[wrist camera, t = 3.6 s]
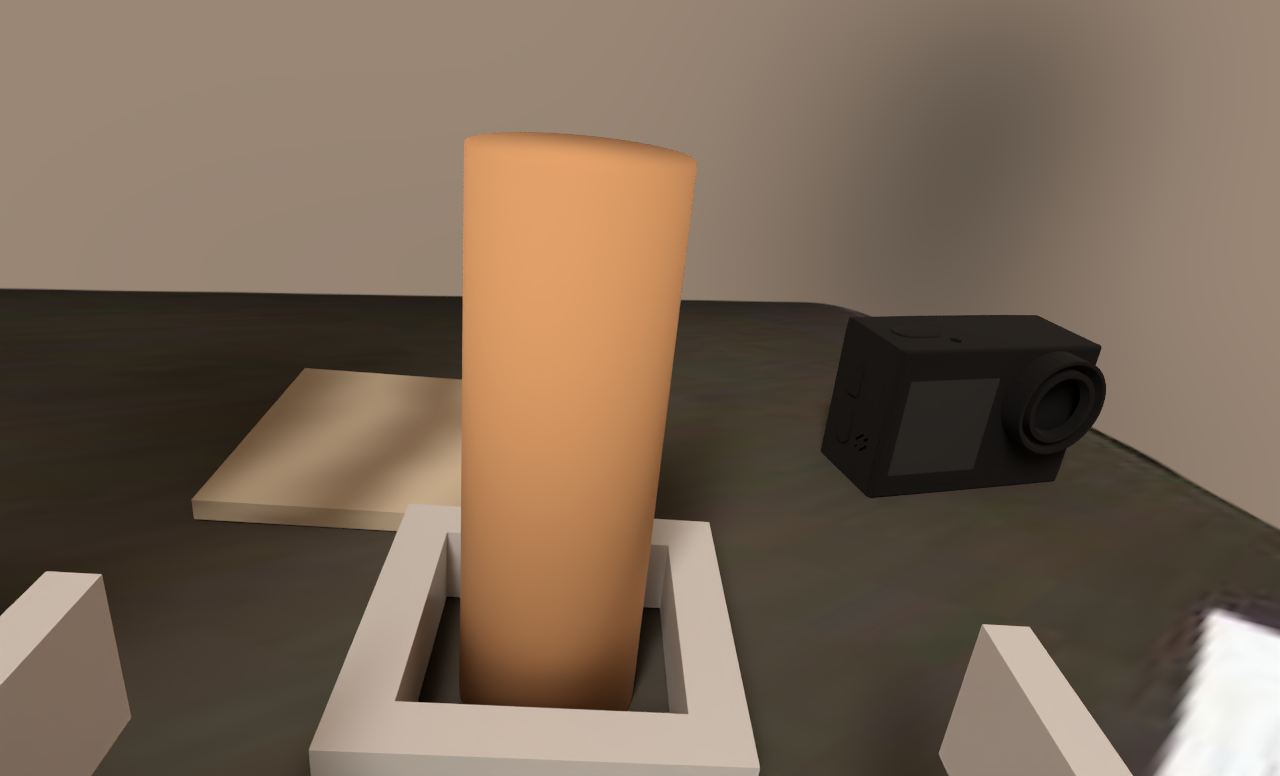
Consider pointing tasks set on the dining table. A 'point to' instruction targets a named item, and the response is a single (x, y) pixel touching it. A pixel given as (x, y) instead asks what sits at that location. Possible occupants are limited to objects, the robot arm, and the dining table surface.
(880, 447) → the digital camera
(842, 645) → the dining table surface
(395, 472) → the birch pad
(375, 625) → the collar
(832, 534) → the dining table surface
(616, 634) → the copper rod
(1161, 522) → the dining table surface
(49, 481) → the dining table surface
